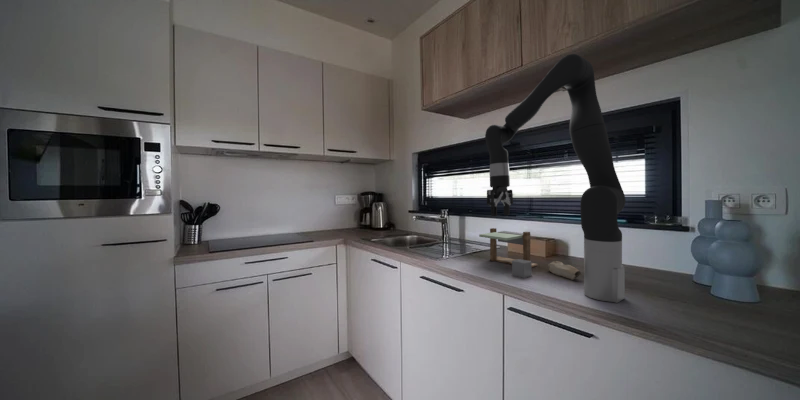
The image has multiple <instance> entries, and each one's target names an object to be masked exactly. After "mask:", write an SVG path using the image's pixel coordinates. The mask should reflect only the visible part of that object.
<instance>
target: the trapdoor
mask: <svg viewBox="0 0 800 400" xmlns="http://www.w3.org/2000/svg"><path fill="white" fill-rule="evenodd" d="M506 233H507V234H506ZM522 235H523V232H517V231H516V232H515V231H507V230H501V231H496V232H493V233H490V232H486V233H479V234H478V236H479V238H484V239H490V238H492V239H497V242H500V243H501V242H502V243H508V244H515V245H519V246H520V245H521V246H523V237H522Z"/></svg>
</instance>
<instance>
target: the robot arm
mask: <svg viewBox="0 0 800 400" xmlns="http://www.w3.org/2000/svg"><path fill="white" fill-rule="evenodd" d="M561 88H565V89H566V91H567V93H568V96H569V100H570V105H571V114H570V119H569V135H570V140H571V144H572V148H573V150H574V153H575V155H576V157H577V158H578V159H579V161H580V163H581V165H582V166H583V168H584V170H585V172H586V174H587V177H588V182H589V187H588V188H587V189H586V190H585V191H584V192H583V193H582V195H581V198H580V207H579V208H580V223H581V224H580V226H581V229H582V232H583V290H584V291H583V292H584V293H583V294H584V295H585V296H586V297H588V298H591V299H594V300H598V301H603V302H610V303H611V302H612V303H615V304H616V303H617V304H618V303H620V302H621V301H623V300H625V298H626V295H625V294H626V293H625V292H626V291H625V285H626V284H625V283H626V282H625V277H626V275H625V273H626V272H625V270H626V269H625V267H626V266H625V265H623V232H622V231H621V229H620V228H619V225H618V224H619V223H618V214H619V213H621V212H622V211H623V210H624V208H625V205H626V196H625V192H624V190H623V187H622V186H621V182H620V180H619V177H618V175H617V172H616V169H615V164H614V159H613V154H612V150H611V145H610V140H609V135H608V130H607V127H606V123H605V120H604V116H603V112H602V109H601V105H600V103H599V98H598V97H597V96H598V95H597V88H596V80H595V72H594V67H593V63H591V61H589V60H588V59H586V58H584V57H583V56H581V55H579V54H577V53H571V54H567V55H565V56H563V57H562V58H560V60H558V61H557V62H556V63H555V65H554V66H553V67H552V68H551V69H550V70H549V71H548V72H547V74H546V75H545V76H544V77H543V78H542V80H540V82H539V83H538V84H537V85H536V86H535V88H533V90H532V91H531V92H530V93H529V94H528V96H526V97H525V99H523V100H522V101H521V102H520V103H519V104H518V105H516V106H515V107H514V109H512V110H511V111H510V112H509V113H508V114H507V115H506V116H505V119H504V121H505V123H504V124H503V125H500V124H499V125H498V124H492V125H489V126H488V127H487V129H486V131H485V134H484V135H485V136H484V137H485V143H486V148H487V151H488V153H489V187H490V188H492V189H487V190H486V205H487V206H489V207H490V214H491V217H497V216H498V207H497V206H498V204H499V202H501V203H502V204H503V215H504V216H510V215H511V213H510V212H511V211H510V210H511V208H510V206H511V205H513V204H514V197H513V196H514V195H513V189H508V187H510V186H511V185H510V184H511V182H510V181H511V180H510V165H509V152H508V150H507V149H506V148H505V147H504V146H503V144H506V143H508V142H509V141H511V140H512V139H513V137H514V136H515V135H516V134H517V132H518V131H519V130H520V129H521V128H522V127H523V126H525V125H526V124H527V123H528V122H530V121H531V120H532V119H534V117H535V116H536V115H537V113H538V112H539V111H540V109H541V108H542V106H543V105H544V103H545V102H546V101H547V100H548V99H549V98H550V96H552V95H553V94H554V93H556V92H557V91H559V90H560V89H561Z"/></svg>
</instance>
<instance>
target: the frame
mask: <svg viewBox="0 0 800 400" xmlns="http://www.w3.org/2000/svg"><path fill="white" fill-rule="evenodd" d="M493 232H497V228H496V227H495V228H494V227H493V228H492V227H491V228H489V233H493ZM522 233H523V235H522V237H523V245H522V252H523V253H522V255H523V256H522V260H527V261H531V231H523V232H522ZM506 234H507V233H506ZM489 243H490V244H489V247H490V248H489V253H490V254H489V257H490V258H489V260H490V261H491V262H499V263H504V264H509V265H512V261H514V260H515V259H514V258H509V257H503V256H498V255H497V254H498V253H497V252H498V251H497V249H498V246H497V243H498V239H492V238H489ZM537 266H538V263H534V262H532V268H534V267H537Z"/></svg>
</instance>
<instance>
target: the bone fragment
mask: <svg viewBox="0 0 800 400" xmlns="http://www.w3.org/2000/svg"><path fill="white" fill-rule="evenodd" d="M547 267H548V270H549V272H550V273H551V274H553V275H556V276H560V277H562V278H565V279H568V280H571V281H573V280H575V279H576V278H579V276H582V272H581V271H580V270H579V269H578V268H576V267H574V266H573V265H571V264H564V262H562V261H560V260H553V261H551V262H550V263H548V265H547Z"/></svg>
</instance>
